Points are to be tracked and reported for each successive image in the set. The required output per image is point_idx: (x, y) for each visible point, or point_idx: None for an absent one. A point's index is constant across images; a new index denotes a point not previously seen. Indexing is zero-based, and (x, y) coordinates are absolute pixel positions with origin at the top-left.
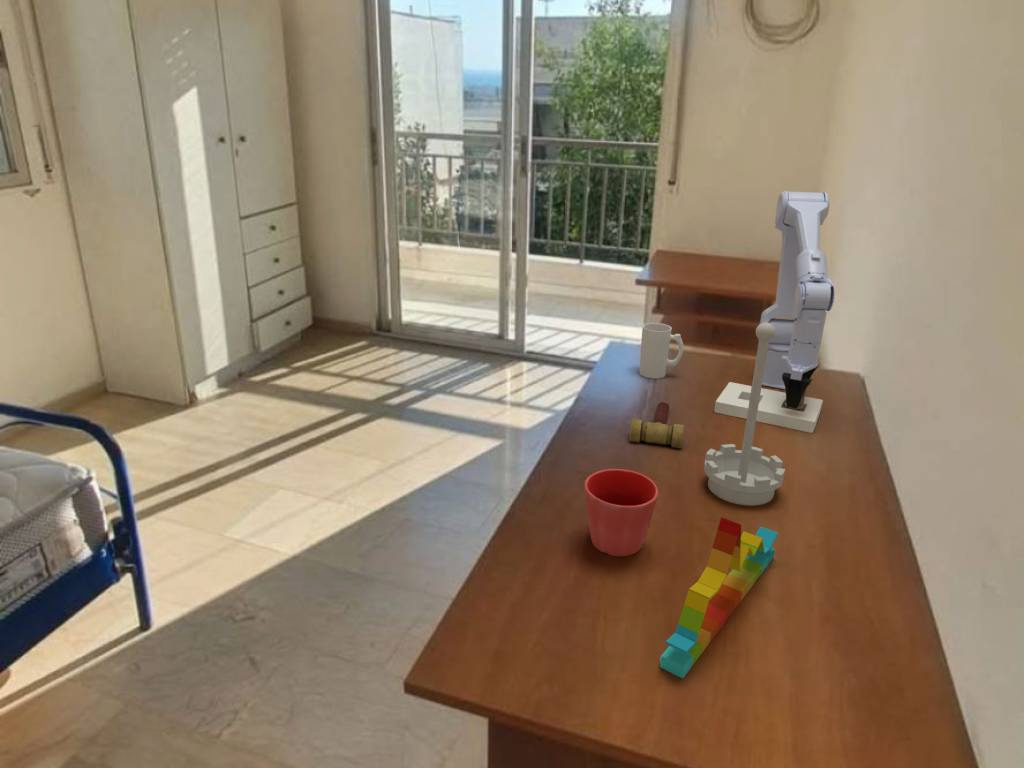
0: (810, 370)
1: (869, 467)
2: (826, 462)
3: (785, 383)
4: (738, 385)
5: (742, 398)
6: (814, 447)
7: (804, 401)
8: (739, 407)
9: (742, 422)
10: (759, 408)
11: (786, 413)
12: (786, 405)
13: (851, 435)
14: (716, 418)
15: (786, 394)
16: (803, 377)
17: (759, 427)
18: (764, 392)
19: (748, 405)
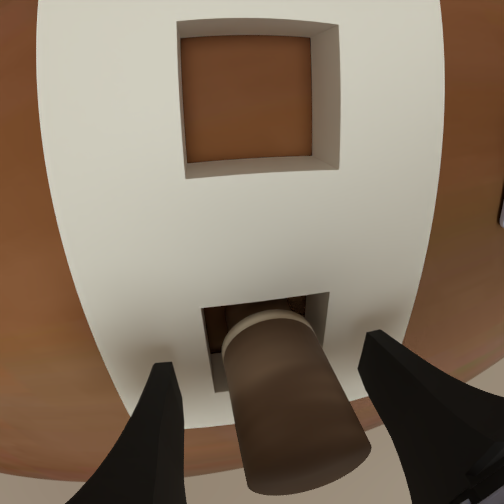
0: (420, 493)
1: (70, 470)
2: (10, 422)
3: (79, 499)
4: (417, 5)
5: (318, 41)
6: (50, 404)
7: (345, 361)
8: (39, 94)
9: (26, 141)
10: (87, 212)
11: (132, 348)
12: (235, 328)
13: (211, 449)
14: (5, 24)
15: (129, 423)
16: (411, 438)
17: (30, 229)
18: (391, 165)
19: (86, 133)
